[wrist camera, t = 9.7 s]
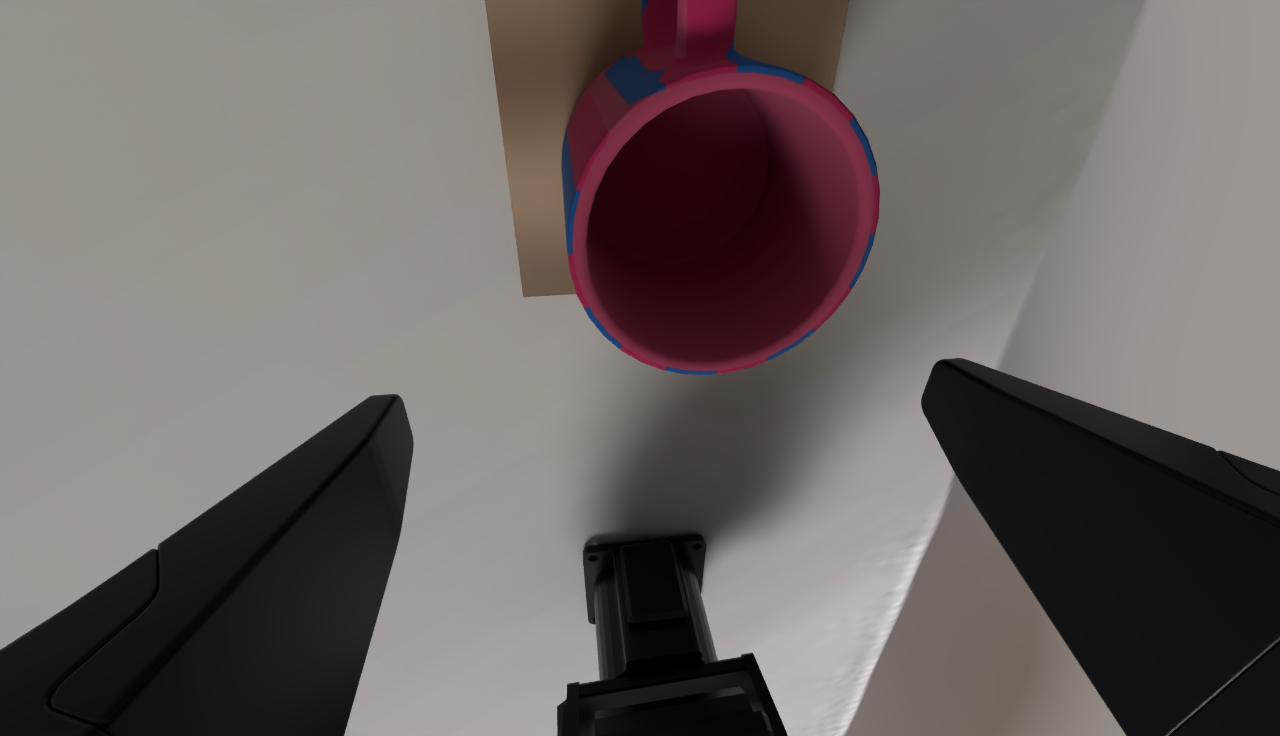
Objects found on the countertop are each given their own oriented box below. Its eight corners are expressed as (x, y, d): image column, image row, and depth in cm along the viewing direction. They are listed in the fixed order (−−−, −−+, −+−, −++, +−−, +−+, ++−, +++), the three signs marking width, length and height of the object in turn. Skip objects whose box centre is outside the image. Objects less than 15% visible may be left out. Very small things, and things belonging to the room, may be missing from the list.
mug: (570, 272, 18) (578, 386, 13) (537, -117, 13) (527, -215, 7) (758, 260, 19) (844, 364, 14) (805, -112, 14) (983, -197, 8)
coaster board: (788, 270, 21) (797, 281, 20) (524, 285, 20) (523, 296, 19) (860, -159, 14) (879, -169, 13) (466, -175, 13) (460, -189, 12)
